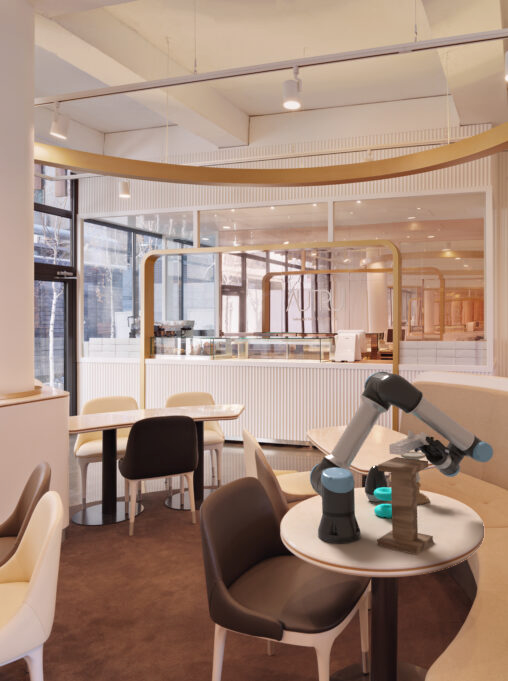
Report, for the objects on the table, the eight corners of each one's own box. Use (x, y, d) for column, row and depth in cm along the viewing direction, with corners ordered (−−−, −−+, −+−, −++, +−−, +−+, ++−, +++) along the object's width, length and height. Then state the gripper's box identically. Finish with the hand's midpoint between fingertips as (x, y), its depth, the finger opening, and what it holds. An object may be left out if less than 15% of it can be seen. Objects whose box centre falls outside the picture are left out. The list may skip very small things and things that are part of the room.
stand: (416, 554, 188) (414, 469, 188) (377, 545, 197) (375, 464, 197) (432, 541, 199) (431, 461, 199) (395, 533, 208) (393, 456, 208)
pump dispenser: (379, 505, 241) (378, 469, 241) (360, 500, 249) (359, 465, 249) (394, 500, 248) (393, 465, 248) (374, 495, 256) (373, 461, 256)
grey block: (400, 455, 191) (400, 446, 191) (389, 453, 194) (389, 444, 194) (429, 442, 210) (429, 434, 210) (419, 441, 212) (418, 433, 212)
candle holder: (408, 506, 240) (407, 458, 239) (394, 497, 252) (393, 452, 251) (434, 503, 243) (433, 455, 242) (419, 495, 255) (418, 450, 254)
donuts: (369, 487, 233) (392, 485, 235) (370, 512, 233) (392, 509, 235) (380, 494, 223) (403, 491, 226) (381, 519, 223) (404, 517, 226)
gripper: (458, 468, 214) (436, 446, 198) (415, 462, 225) (391, 441, 209) (461, 449, 217) (440, 426, 201) (418, 444, 228) (395, 422, 212)
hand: (415, 434), depth 205 cm, fingers closed on grey block, 4 cm apart
